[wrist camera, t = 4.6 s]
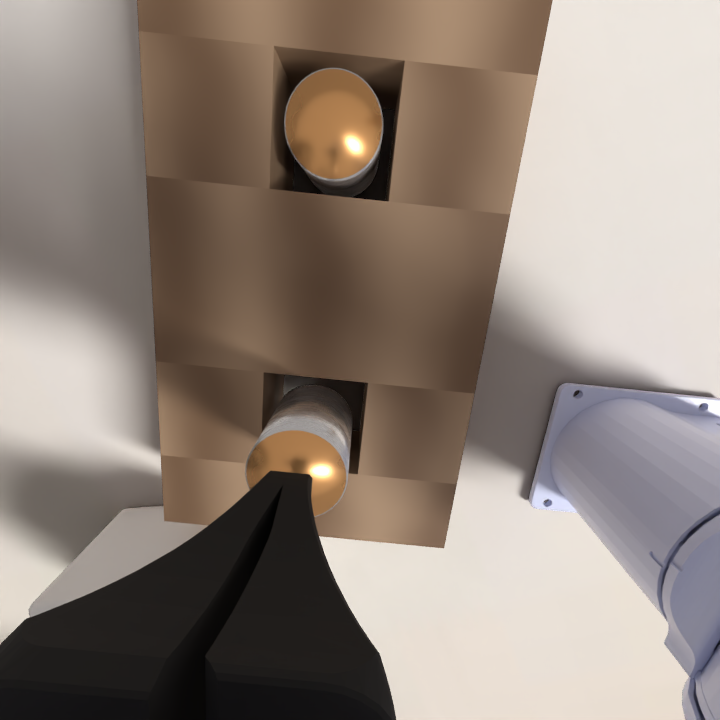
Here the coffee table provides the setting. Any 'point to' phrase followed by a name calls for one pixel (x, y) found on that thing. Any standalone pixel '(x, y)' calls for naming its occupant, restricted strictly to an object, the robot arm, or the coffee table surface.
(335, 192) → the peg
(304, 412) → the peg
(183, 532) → the medicine bottle
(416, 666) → the coffee table surface
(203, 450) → the socket block
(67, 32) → the coffee table surface
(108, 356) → the coffee table surface
